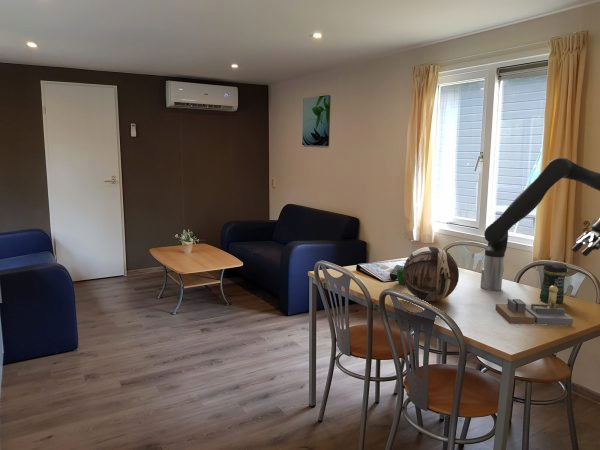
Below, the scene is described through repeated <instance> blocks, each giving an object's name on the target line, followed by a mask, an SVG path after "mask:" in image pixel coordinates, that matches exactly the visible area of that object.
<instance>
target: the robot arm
mask: <svg viewBox="0 0 600 450" xmlns="http://www.w3.org/2000/svg"><path fill="white" fill-rule="evenodd" d="M561 179H567V180H572V181H575V182H579V183H581V184H584V185H586V186H588V187H590V188H592V189H593V190H596V191H599V192H600V172H596V171H593V170H591V169H590V170H589V169H588V168H586V167H583V166H581V165H578V164H577V163H576V162H573V161H571V160H570V159H568V158H566V157H555V158H554V159H552V160H550V161H549V162H548V164H547V165H546V166H545V167H544V169H543V170H542V172H540V174H539V175H538V176H537V177H536V179H534V181H532V182H531V183H530V184H529V185H528V186H527V187H526V188H524V190H523V191H522V192H521V193H520V194H518V195H517V197H516V198H514V200H513V201H512V202H511V203H510V204H509V206H508V207H507V208H506V209H505V210H504V211H503V213H502V214H501V215H500V216H499V217H498V218H496V220H494V221H493V222H492V223H491V224H489V225H488V226H487V227H486V228H485V230H484V233H483V235H484V239H485V240H486V241H487V243H488V244H487V245H486V248H485V250H484V258H483V259H484V260H483V268H482V269H481V275H480V276H481V277H480V289H481V288H482V289H484V290H487V291H493V292H494V291H496V292H499V291H501V290H502V287H503V275H504V265H505V255H506V251H507V247H508V240H509V230H510V229H511V228H513V226H515V225H516V224H518V222H520V221H522V220H523V219H524V218H526V217H527V216H528V215H529V214H530V213H531V212H533V210H534V209H536V208H537V207H538V206H539V205H540V204H541V202H542V201H543V199H544V197H545V196H546V195H547V193H548V192H549V190H550V189H551V188H552V187H553V186H554V185H556V183H558V182H559V181H560V180H561ZM591 230H592V231H590V232H589V231H588V230H586V231H584V232H583V233H582V234H581V235H580V236H579V237H577V238H576V239H575V241H576V244H574V245H573V246H572V248H571V251H572V252H573V253H577V252H578V251H579V250H580V249H581V248H582V247H584V246H585V245H588V246H586V248H584V249H583V250H582V251H581V254H582V255H583V256H584V257H587V256H588V255H589V254H590V253H592V251H595V250H597V251H598V250H599V249H600V218H599V219H598V220H596V222H594V223H593V225H591Z"/></svg>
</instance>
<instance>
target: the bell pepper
mask: <svg viewBox="0 0 600 450" xmlns="http://www.w3.org/2000/svg"><path fill="white" fill-rule="evenodd" d="M403 268H404V267H400V268H399V269H397V271H396V276H397V282H398V283H399V285H401V286H404V285H405V283H404V279H403ZM405 286H406V285H405Z"/></svg>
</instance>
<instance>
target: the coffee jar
mask: <svg viewBox="0 0 600 450" xmlns="http://www.w3.org/2000/svg"><path fill="white" fill-rule="evenodd" d="M567 274H568V266H567V264H565V263H562V262H545V263H544V264H543V281H542V284H541V290H540V294H539V299H540V300H541V301H542V302H544V303H546V304H548V300H549V287H550V286H556V287H557V288H558V292H557V297H556V304H562V303H563V302H564V297H565V295H564V294H565V292H564V290H565V279H566V276H567Z"/></svg>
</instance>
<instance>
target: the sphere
mask: <svg viewBox="0 0 600 450" xmlns="http://www.w3.org/2000/svg"><path fill="white" fill-rule="evenodd" d="M403 264H404V265H403V267H402V268H403V279H404V283H405V287H406V289H407V290H408V292H410V293H411V294H412V295H413V296H414V297H416V298H418V299H419V298H420V300H422V301H427V302H437V301H438V302H439V301H441V300H443V299H445V298H448V297H449V296H450V295H451V294H452V293H453V292H454V290H455V289H457V285H458V282H459V279H460V277H459V276H460V273H459V272H460V271H459V267H458V264H457V262H456V260H455V259H454V258H453V256H452V255H451V254H450V253H449V252H447V251H446V250H444V249H442V248H439V247H434V246H425V247H422V248H418V249H417V250H414V251H413V252H412V253H411V254H410V255H409V256H408V257H407V259H406V260H405V262H404V263H403Z"/></svg>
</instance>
